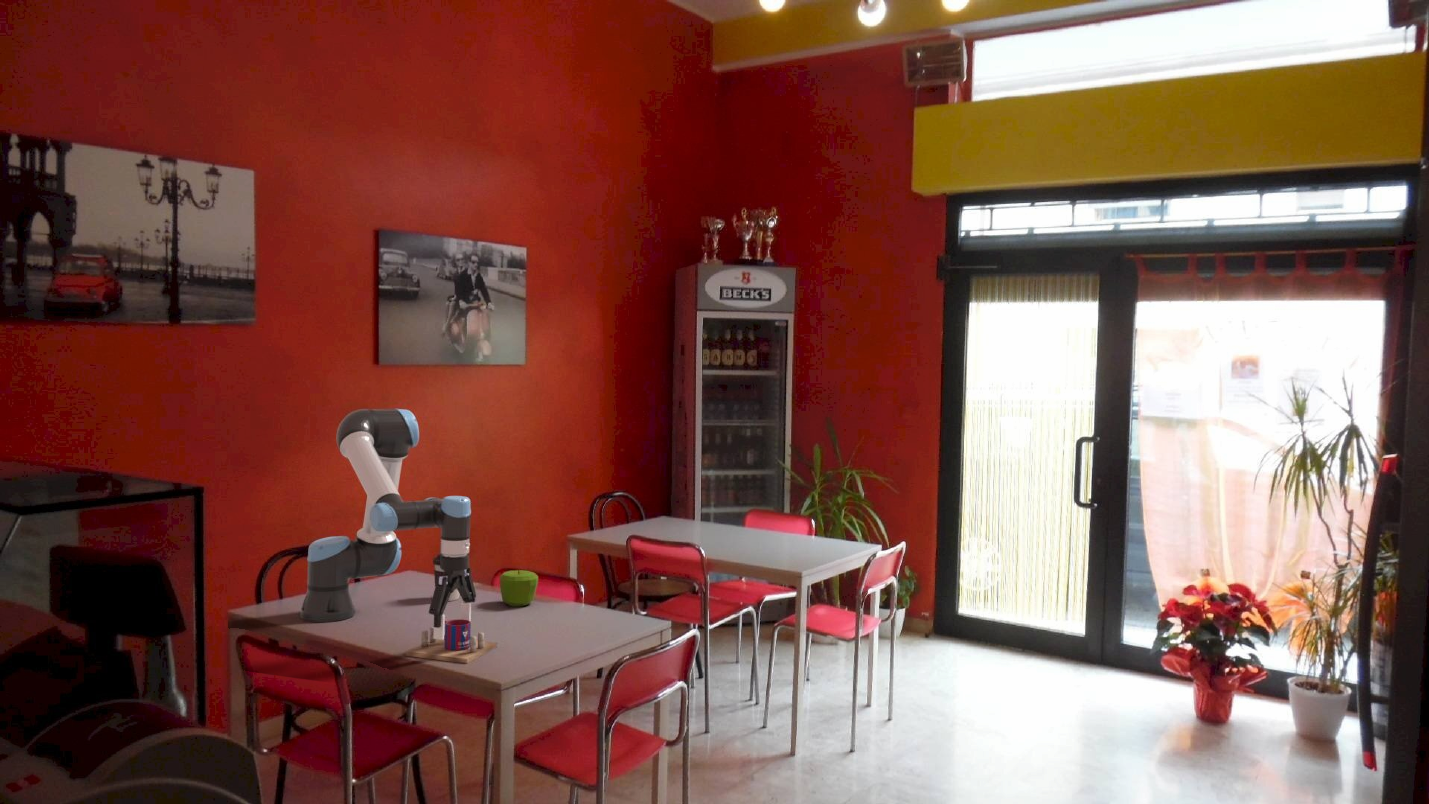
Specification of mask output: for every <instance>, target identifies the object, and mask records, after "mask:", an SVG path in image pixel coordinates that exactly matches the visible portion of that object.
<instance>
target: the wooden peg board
mask: <svg viewBox="0 0 1429 804" xmlns="http://www.w3.org/2000/svg"><path fill="white" fill-rule="evenodd" d="M433 636H434V626H431V627H429V630H422V631H421V643H420V644H419V645H416V646H414V647H412V648H411V649H408V650H406V651H405V652H406V653H405V655H406V657H413V658H421V659H422V658H423V659H429V660H438V661H445V662H452V663H460V664H469V663H471V662H473V661H475V660H476V659H478V658H480V657H482V656H484V655H486V654H487V653H489V652H491V651H492V650H494V649H496V648H498V642H494V641H493V642H492V641H485V633H484V632H482V631H481V632H478V633H477V636H476V635H472V636H471V635H470V648H469V649H466V650H461V651H450V650H446V649H445V648H444V646H445V640H444V639H443V640H440V639H433Z"/></svg>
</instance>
